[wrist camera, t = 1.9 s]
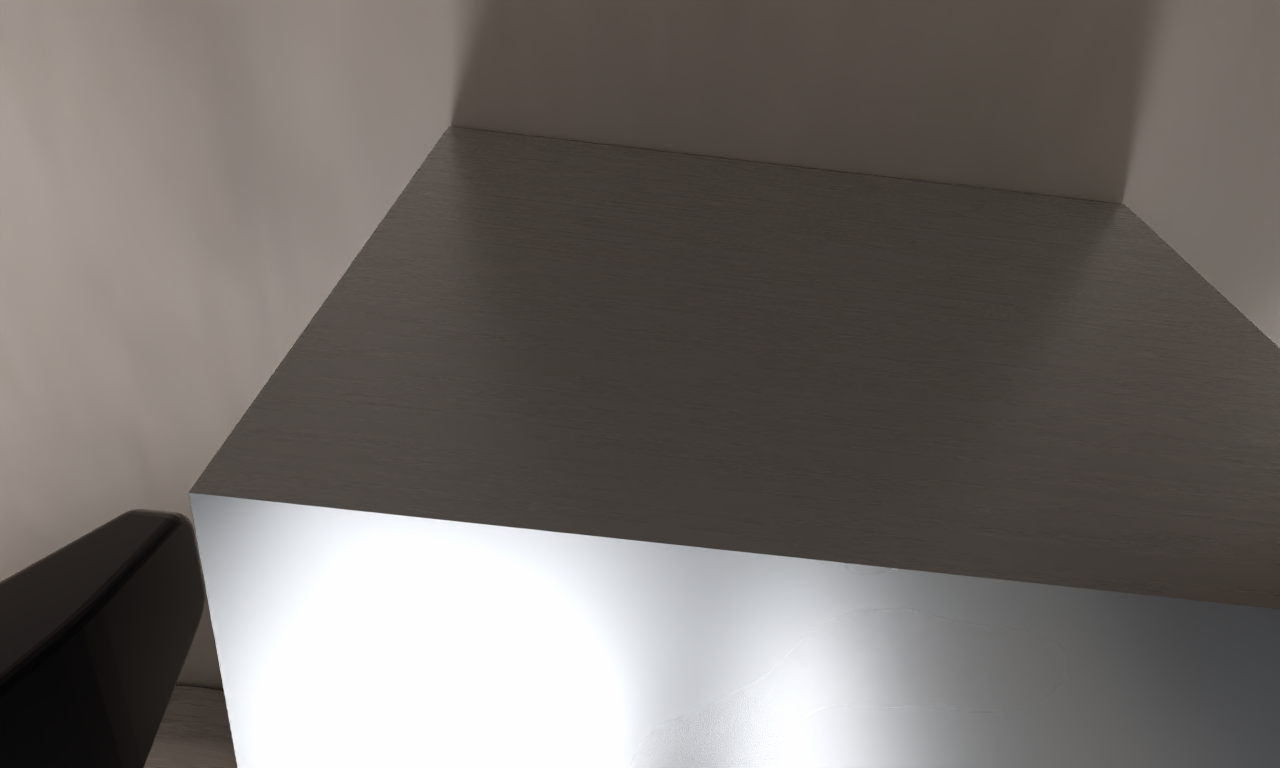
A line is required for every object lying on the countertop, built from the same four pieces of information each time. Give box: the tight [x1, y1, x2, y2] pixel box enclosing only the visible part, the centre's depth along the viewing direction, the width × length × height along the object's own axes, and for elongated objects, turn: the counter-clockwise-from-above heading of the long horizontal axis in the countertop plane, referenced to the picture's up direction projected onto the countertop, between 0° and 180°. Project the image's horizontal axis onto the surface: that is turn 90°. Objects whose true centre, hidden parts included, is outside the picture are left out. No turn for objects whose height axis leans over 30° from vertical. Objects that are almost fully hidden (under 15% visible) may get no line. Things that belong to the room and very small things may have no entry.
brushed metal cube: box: [189, 127, 1280, 768], centre depth 8 cm, size 6×6×5 cm
